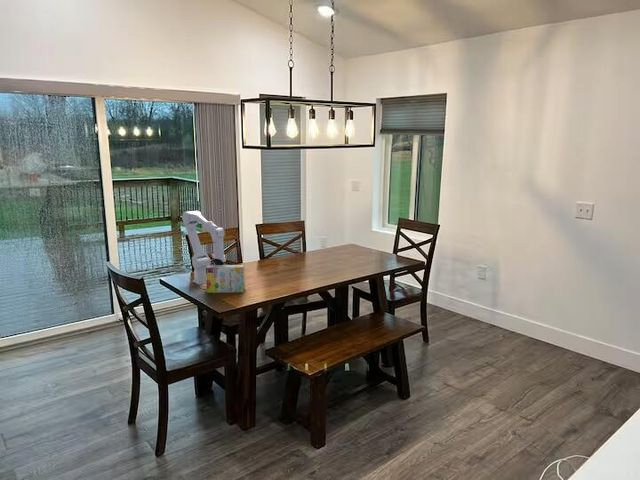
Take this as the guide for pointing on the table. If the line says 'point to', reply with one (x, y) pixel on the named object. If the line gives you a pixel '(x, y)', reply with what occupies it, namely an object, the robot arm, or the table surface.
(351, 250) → the table surface
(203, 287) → the cork coaster
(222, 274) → the snack box
